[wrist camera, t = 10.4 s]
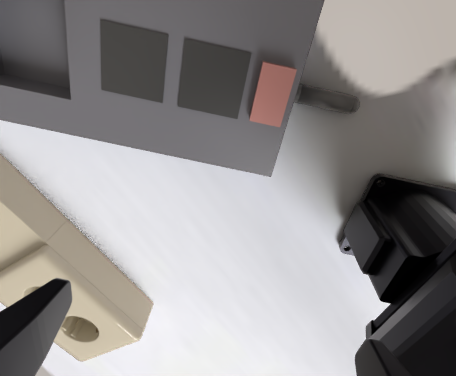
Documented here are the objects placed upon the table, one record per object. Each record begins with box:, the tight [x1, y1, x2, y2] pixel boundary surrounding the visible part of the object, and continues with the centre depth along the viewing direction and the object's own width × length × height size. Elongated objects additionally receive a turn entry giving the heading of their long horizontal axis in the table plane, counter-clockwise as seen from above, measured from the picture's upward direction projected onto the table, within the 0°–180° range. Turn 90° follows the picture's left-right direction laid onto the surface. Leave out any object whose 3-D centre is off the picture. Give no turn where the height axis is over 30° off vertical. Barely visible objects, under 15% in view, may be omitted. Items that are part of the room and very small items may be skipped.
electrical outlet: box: [0, 154, 154, 362], centre depth 23 cm, size 7×4×18 cm
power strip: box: [0, 0, 360, 177], centre depth 15 cm, size 24×9×3 cm, turn 79°
